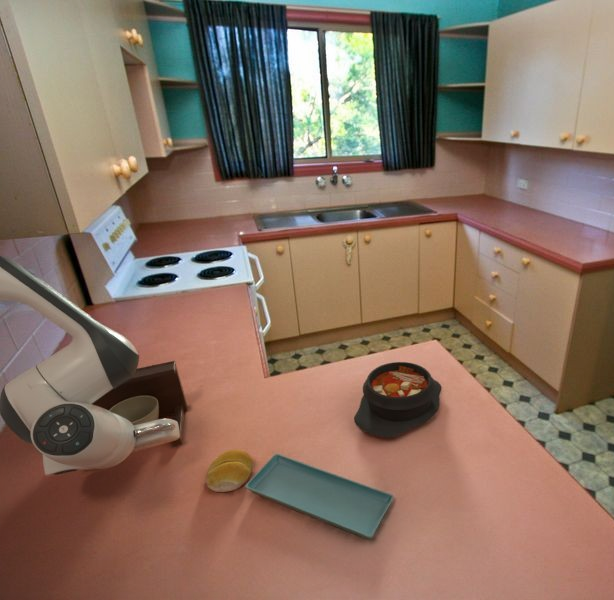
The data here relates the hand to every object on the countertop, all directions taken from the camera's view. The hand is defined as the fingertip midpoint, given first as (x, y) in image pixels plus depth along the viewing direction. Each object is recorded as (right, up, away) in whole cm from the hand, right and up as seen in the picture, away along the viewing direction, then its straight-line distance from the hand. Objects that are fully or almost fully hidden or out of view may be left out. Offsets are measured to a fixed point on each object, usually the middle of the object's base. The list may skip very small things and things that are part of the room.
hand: (129, 447), depth 85 cm
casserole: (+54, +4, +16) cm, 56 cm away
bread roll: (+21, -5, -1) cm, 22 cm away
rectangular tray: (+39, -7, -7) cm, 41 cm away
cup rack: (-3, -1, +9) cm, 10 cm away
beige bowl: (-4, -1, +10) cm, 11 cm away
